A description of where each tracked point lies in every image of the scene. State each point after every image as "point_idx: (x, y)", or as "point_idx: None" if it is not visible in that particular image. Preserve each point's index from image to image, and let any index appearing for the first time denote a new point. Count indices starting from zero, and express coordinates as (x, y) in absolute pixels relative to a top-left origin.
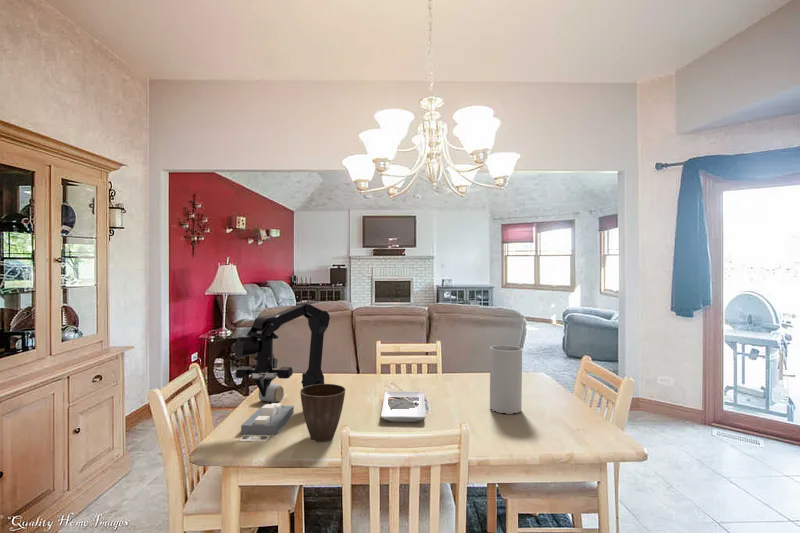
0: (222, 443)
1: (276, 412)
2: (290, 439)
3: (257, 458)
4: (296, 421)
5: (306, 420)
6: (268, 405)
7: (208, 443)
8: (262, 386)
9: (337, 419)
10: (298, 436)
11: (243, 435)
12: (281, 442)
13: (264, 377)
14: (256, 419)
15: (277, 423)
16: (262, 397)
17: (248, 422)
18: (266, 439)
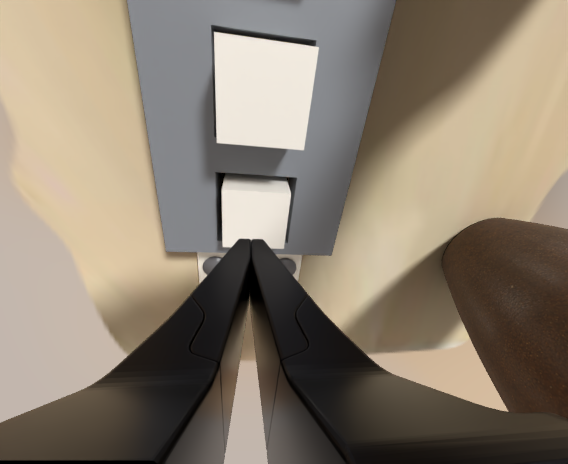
0: (152, 297)
1: (303, 32)
2: (375, 264)
3: None
4: (413, 62)
5: (470, 338)
6: (252, 78)
7: (101, 299)
8: (234, 371)
9: None
10: (403, 243)
11: None
12: (347, 284)
13: (189, 433)
14: (230, 241)
15: (333, 228)
16: None
17: (184, 217)
18: (296, 277)
